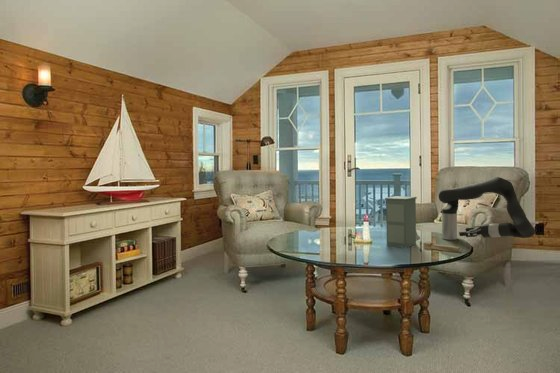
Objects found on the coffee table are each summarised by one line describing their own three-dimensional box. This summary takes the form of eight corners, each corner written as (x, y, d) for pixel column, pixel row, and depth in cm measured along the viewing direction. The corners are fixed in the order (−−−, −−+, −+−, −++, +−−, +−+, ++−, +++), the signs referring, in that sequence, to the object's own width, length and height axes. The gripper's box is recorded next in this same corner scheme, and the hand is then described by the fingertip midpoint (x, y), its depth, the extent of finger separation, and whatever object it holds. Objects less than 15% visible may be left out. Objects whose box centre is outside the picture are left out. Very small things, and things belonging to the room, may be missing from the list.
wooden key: (426, 247, 253) (426, 241, 253) (460, 251, 240) (460, 245, 240) (423, 248, 249) (423, 242, 249) (457, 252, 236) (457, 246, 236)
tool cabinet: (396, 241, 272) (396, 196, 270) (417, 243, 262) (416, 196, 261) (385, 245, 261) (385, 198, 259) (406, 248, 251) (406, 198, 249)
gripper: (495, 220, 229) (466, 222, 241) (485, 227, 219) (455, 228, 231) (498, 233, 229) (469, 234, 241) (488, 240, 219) (458, 241, 231)
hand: (462, 232), depth 236 cm, fingers open, 8 cm apart
